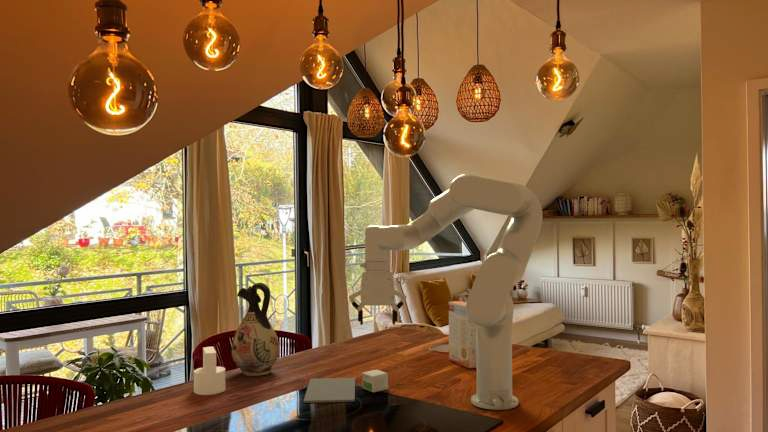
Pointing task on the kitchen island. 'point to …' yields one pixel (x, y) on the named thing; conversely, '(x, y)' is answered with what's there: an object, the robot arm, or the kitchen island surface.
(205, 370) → the cylinder with rectangular tab
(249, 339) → the ceramic jug
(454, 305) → the cracker box
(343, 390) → the mat
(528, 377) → the kitchen island surface
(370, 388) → the small box
